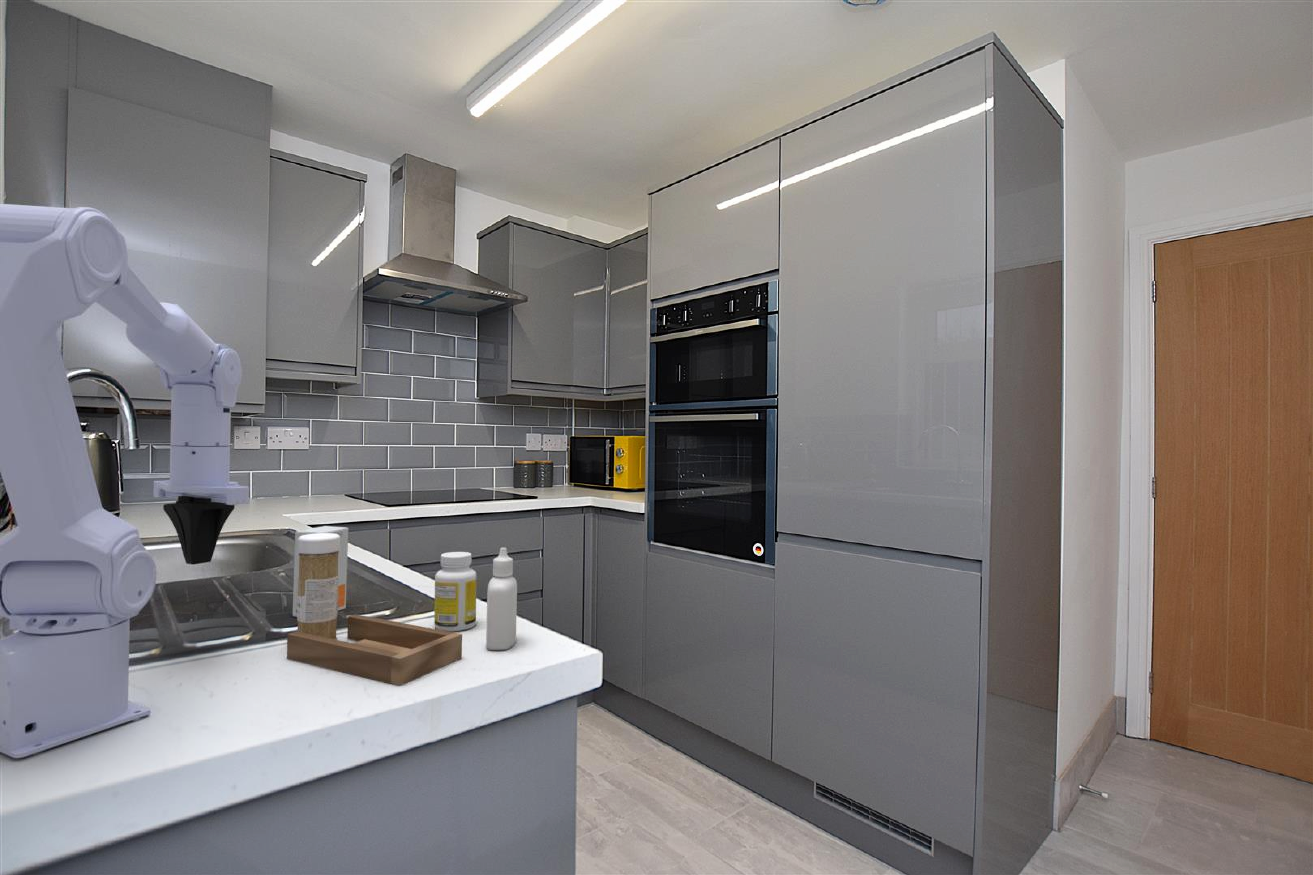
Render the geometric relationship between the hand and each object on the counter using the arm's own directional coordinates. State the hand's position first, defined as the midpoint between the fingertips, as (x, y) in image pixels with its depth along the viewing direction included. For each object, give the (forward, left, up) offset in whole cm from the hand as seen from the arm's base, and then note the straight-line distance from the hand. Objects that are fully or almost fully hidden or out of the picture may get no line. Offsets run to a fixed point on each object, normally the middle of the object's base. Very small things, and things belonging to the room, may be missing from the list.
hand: (198, 562), depth 76 cm
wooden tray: (+8, -19, -10) cm, 23 cm away
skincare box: (+18, +2, -11) cm, 21 cm away
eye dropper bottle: (+19, -29, -11) cm, 36 cm away
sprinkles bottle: (+8, -10, -11) cm, 17 cm away
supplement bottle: (+22, -19, -11) cm, 31 cm away
